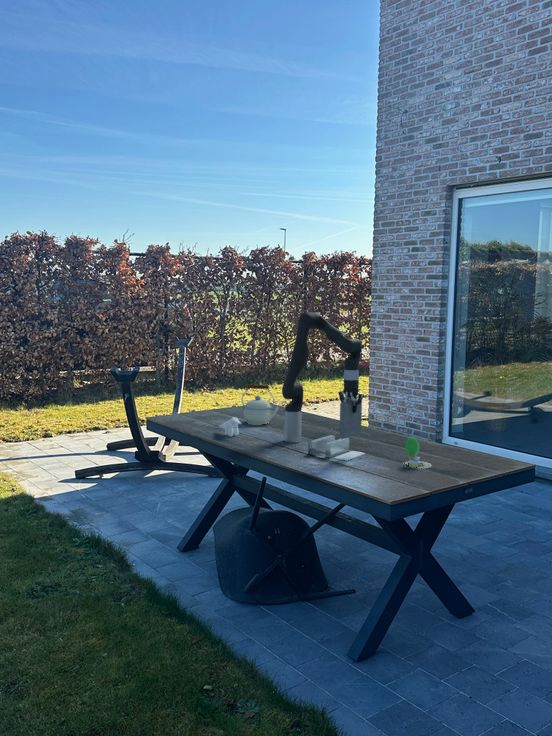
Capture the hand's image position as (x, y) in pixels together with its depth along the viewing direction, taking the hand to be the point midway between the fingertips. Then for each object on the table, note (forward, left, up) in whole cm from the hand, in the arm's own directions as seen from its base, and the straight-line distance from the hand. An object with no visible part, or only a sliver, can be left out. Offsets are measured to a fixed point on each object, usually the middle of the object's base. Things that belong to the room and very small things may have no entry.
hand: (350, 412), depth 317 cm
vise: (-12, 0, -23) cm, 26 cm away
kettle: (-89, +36, -23) cm, 99 cm away
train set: (+34, +7, -23) cm, 42 cm away
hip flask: (0, 0, -12) cm, 12 cm away
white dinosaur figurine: (-81, -2, -23) cm, 84 cm away
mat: (0, 0, -23) cm, 23 cm away
